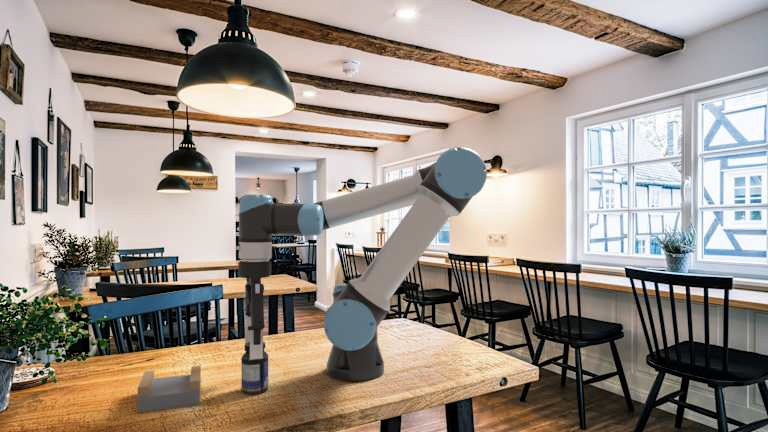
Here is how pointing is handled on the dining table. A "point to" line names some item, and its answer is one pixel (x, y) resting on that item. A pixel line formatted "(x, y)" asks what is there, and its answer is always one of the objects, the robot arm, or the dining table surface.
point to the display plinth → (169, 391)
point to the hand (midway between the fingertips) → (253, 350)
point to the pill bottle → (254, 372)
